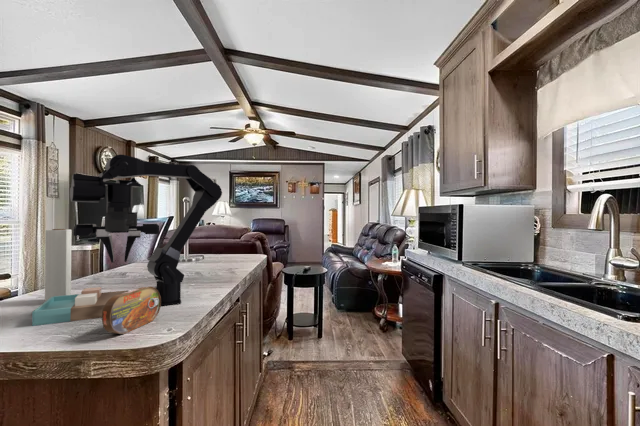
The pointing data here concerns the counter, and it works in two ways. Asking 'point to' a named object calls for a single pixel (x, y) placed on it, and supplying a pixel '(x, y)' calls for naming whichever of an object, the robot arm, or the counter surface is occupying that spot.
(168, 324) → the counter surface
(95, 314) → the walnut plate
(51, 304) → the tray
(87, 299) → the cream tile
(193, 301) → the counter surface
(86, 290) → the terracotta block
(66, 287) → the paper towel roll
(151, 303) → the tin
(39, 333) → the counter surface
